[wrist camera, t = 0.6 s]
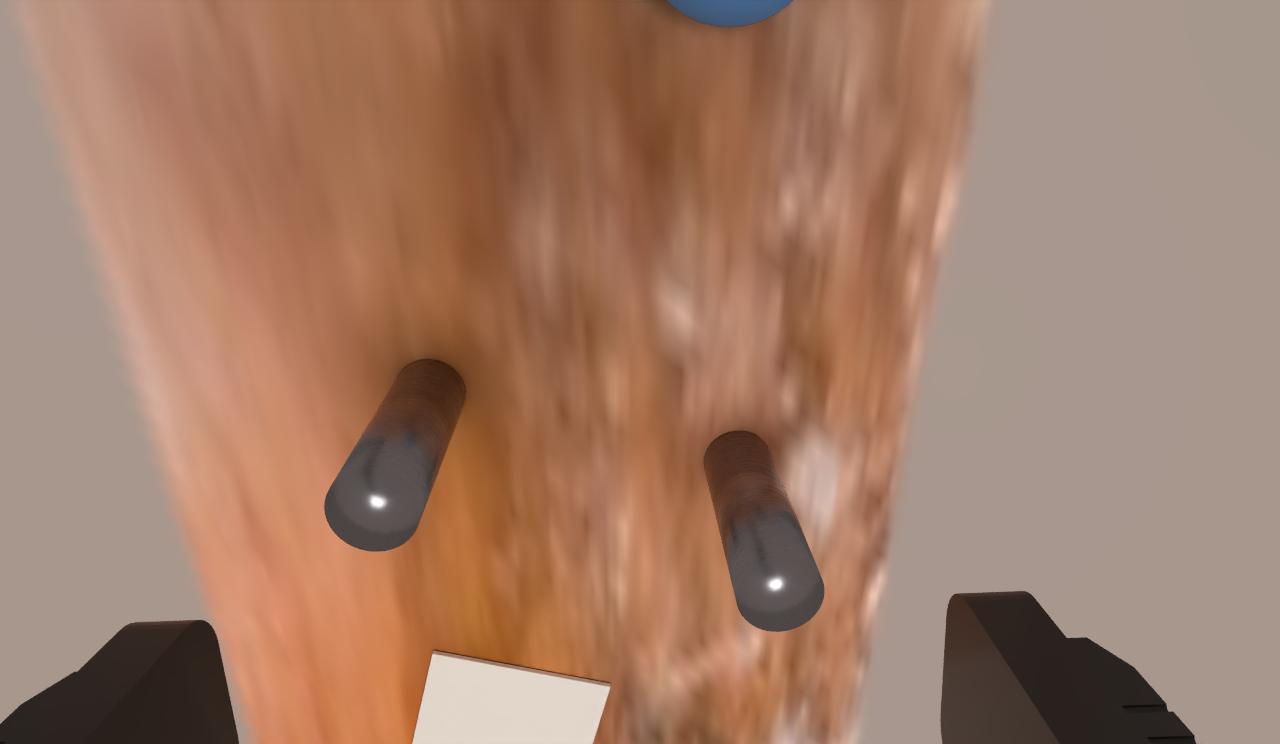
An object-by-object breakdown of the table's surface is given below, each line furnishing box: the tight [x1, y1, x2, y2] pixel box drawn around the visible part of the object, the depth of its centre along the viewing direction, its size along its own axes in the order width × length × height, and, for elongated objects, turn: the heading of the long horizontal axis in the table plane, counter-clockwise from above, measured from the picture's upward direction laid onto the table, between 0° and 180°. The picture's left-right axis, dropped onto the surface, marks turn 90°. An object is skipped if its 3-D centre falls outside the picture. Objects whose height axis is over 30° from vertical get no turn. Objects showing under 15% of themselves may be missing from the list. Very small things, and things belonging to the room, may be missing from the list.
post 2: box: [704, 431, 824, 632], centre depth 27 cm, size 2×2×8 cm
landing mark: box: [412, 650, 610, 744], centre depth 35 cm, size 7×7×1 cm
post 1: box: [324, 359, 466, 551], centre depth 26 cm, size 2×2×8 cm
